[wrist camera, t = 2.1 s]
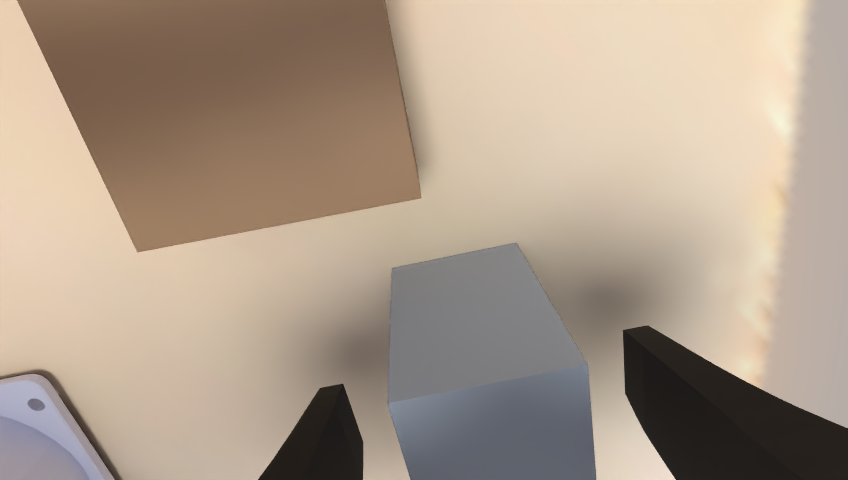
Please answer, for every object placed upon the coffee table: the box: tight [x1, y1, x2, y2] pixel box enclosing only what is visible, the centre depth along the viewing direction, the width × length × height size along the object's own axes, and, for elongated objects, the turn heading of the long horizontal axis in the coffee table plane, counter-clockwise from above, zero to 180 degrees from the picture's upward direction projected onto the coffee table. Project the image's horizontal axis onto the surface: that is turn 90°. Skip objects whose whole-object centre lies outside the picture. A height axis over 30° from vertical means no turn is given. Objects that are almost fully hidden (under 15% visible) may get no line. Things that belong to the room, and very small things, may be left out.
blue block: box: [388, 243, 596, 480], centre depth 13 cm, size 4×4×6 cm
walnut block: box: [17, 0, 421, 252], centre depth 11 cm, size 7×7×3 cm
